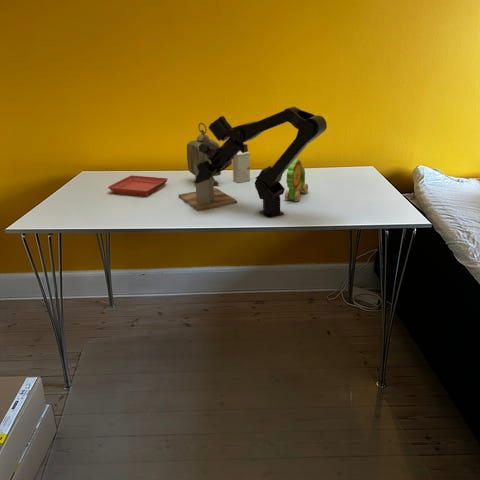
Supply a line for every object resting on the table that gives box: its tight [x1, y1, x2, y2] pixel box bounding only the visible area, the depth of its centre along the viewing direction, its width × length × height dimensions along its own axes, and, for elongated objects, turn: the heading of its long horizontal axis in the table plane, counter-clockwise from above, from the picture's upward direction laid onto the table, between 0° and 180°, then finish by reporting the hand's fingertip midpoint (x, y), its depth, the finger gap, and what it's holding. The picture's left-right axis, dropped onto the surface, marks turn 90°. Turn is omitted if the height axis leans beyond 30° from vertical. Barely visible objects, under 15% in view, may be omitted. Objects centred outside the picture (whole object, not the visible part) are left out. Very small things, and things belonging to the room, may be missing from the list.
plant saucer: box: [107, 174, 168, 197], centre depth 193 cm, size 18×18×3 cm
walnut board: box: [178, 187, 238, 212], centre depth 179 cm, size 18×16×1 cm
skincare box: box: [232, 151, 251, 184], centre depth 199 cm, size 6×4×12 cm
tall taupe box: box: [194, 166, 215, 203], centre depth 173 cm, size 4×5×13 cm
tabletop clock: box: [186, 122, 222, 186], centre depth 194 cm, size 14×9×25 cm, turn 30°
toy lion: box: [284, 158, 309, 202], centre depth 177 cm, size 16×5×15 cm, turn 155°
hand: (200, 179), depth 173 cm, fingers open, 9 cm apart
